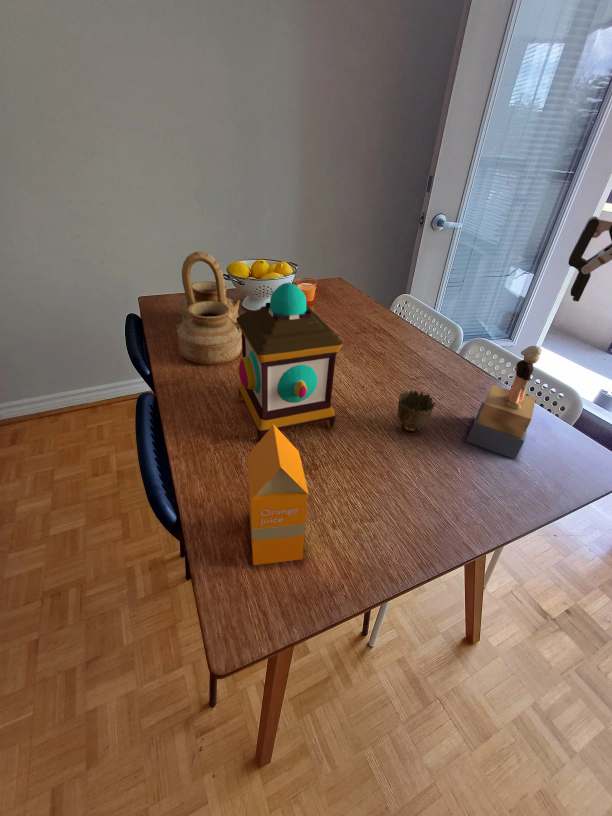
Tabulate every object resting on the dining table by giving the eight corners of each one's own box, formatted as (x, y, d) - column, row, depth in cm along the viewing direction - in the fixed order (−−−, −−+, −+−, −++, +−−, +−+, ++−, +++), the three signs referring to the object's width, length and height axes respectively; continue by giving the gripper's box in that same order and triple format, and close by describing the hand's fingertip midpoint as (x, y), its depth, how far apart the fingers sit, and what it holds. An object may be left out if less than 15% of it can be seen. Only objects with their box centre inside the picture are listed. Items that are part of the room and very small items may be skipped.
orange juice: (252, 565, 59) (248, 469, 48) (249, 518, 67) (245, 424, 55) (303, 559, 61) (312, 464, 49) (295, 513, 68) (300, 421, 56)
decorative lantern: (254, 450, 80) (250, 308, 63) (231, 397, 95) (223, 270, 77) (343, 430, 87) (361, 297, 69) (309, 384, 102) (317, 264, 84)
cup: (429, 440, 86) (438, 410, 81) (395, 438, 86) (403, 408, 81) (421, 419, 92) (430, 390, 87) (390, 417, 92) (396, 388, 87)
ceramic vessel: (249, 365, 107) (247, 272, 93) (178, 370, 103) (164, 273, 89) (238, 315, 134) (234, 237, 119) (181, 317, 130) (170, 236, 115)
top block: (526, 416, 87) (536, 397, 84) (522, 438, 80) (531, 419, 77) (484, 403, 90) (491, 384, 87) (476, 423, 84) (484, 403, 81)
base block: (521, 434, 90) (529, 416, 87) (515, 459, 83) (524, 441, 80) (475, 418, 94) (482, 401, 91) (466, 441, 86) (473, 423, 83)
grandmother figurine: (528, 412, 79) (555, 356, 72) (509, 411, 79) (534, 355, 71) (513, 391, 85) (537, 337, 78) (495, 390, 85) (517, 336, 78)
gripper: (611, 165, 45) (551, 303, 55) (775, 180, 40) (677, 330, 49) (608, 163, 51) (554, 288, 60) (753, 175, 45) (668, 311, 55)
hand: (610, 307), depth 55 cm, fingers open, 8 cm apart
